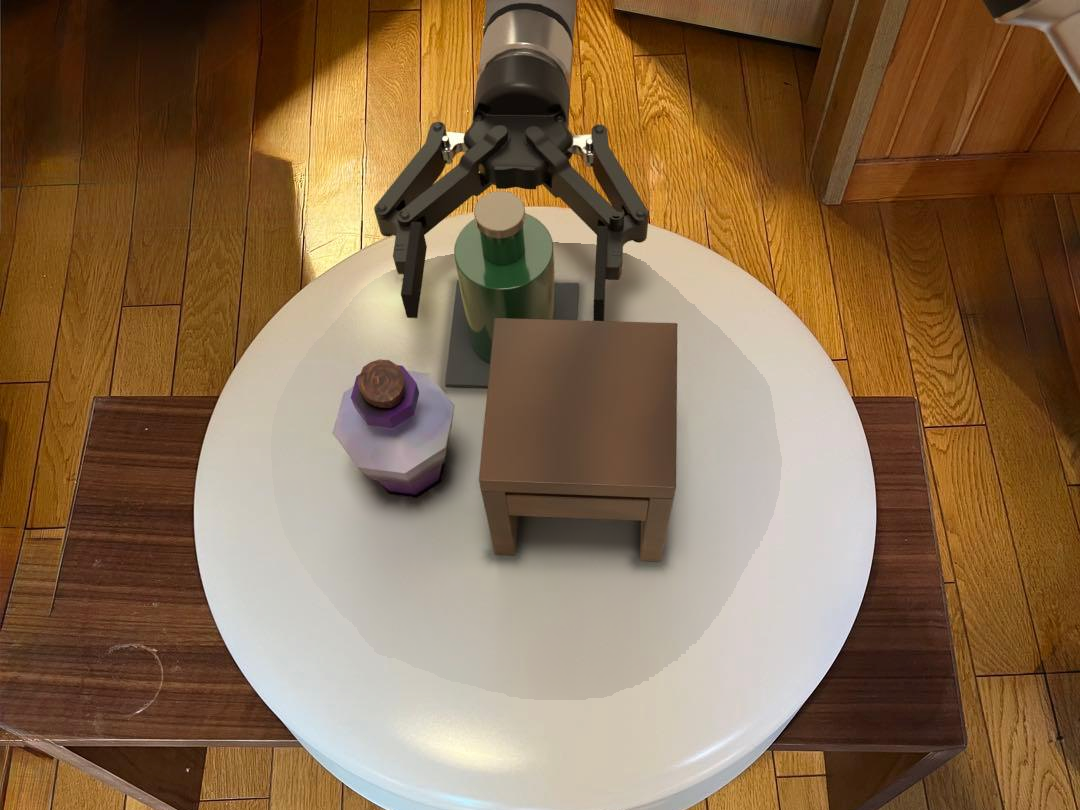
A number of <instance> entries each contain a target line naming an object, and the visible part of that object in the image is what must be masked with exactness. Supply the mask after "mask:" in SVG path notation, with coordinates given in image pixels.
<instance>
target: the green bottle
mask: <svg viewBox="0 0 1080 810" xmlns="http://www.w3.org/2000/svg"><path fill="white" fill-rule="evenodd" d="M473 215H474V218H473V219H472V220H471V221H469V222H468V223H466V225H465V226H464V227H463V228H462V229H461V230H460V231H459V234H458V236H457V238H456V241H455V242H454V248H453V255H454V260H455V261H454V263H455V267H456V272H457V273H456V274H457V280H459V284H460V290H461V295H462V301H463V306H464V312H465V317H466V323H467V328H468V334H469V339H470V343H471V346H472V348H473V350H474V351H475V353H476V354H477V355H478V356H479V357H480V358H481V359H482V360H483V361H485V362H486V363H488V364H490V359H491V348H492V338H493V328H494V319H495V318H512V319H548V320H556V302H555V283H556V281H555V276H556V275H555V255H554V253H555V251H554V241H553V237H552V235H551V233H550V231H549V230H548V228H547V227H546V226H545V225H544V224H543V223H542V222H541V221H540V220H539V219H538V218H536V217H534V216H533V215H531V214H529V213H526V207H525V204H524V202H523V201H522V199H521V198H520V197H519V196H518V195H517V194H514V192H513V193H512V192H510V191H505V190H495V191H492V192H489V193H486V194H484V195H483V196H482V197H481V198H480V199H478V201H477V202H476V204H475V206H474V209H473Z"/></svg>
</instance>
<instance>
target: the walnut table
mask: <svg viewBox="0 0 1080 810" xmlns="http://www.w3.org/2000/svg"><path fill="white" fill-rule="evenodd" d="M485 401H486V402H485V411H484V421H483V432H482V433H483V434H482V443H481V452H480V453H481V454H480V465H479V474H478V476H479V477H478V484H479V488H480V493H481V497H482V501H483V507H484V512H485V516H486V521H487V525H488V529H489V534H490V539H491V543H492V548H493V552H494V555H496V556H497V555H498V556H516V553H517V538H518V526H519V525H518V524H519V517H521V516H522V517H542V518H543V517H544V518H566V519H567V518H570V519H593V520H595V519H596V520H617V521H618V520H619V521H620V520H622V521H640V546H639V547H640V551H639V552H640V553H639V559H640V561H641V562H642V561H644V562H661V561H662V558H663V554H664V549H665V544H666V538H667V534H668V529H669V524H670V518H671V515H672V509H673V504H674V501H675V495H676V490H677V437H678V436H677V435H678V433H677V430H678V429H677V427H678V424H677V423H678V418H677V417H678V323H677V322H655V321H653V322H650V321H620V320H619V321H618V320H615V321H614V320H613V321H612V320H604V321H593V320H583V319H582V320H581V319H580V320H579V319H577V320H548V319H512V318H495V319H494V328H493V338H492V348H491V359H490V369H489V379H488V388H487V391H486V399H485Z"/></svg>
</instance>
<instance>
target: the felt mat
mask: <svg viewBox="0 0 1080 810" xmlns="http://www.w3.org/2000/svg"><path fill="white" fill-rule="evenodd" d="M579 290H580V283H579V282H555V302H556V320H578V307H579ZM453 303H454V304H453V313H452V321H451V329H450V339H449V346H448V355H447V363H446V372H445V380H444V381H445V382H444V385H445V387H447V388H473V389H474V388H476V389H477V388H478V389H488V379H489V369H490V364H488V363H486V362H485V361H483V360H482V359H481V358H480V357H479V356H478V355H477V354H476V353H475V351H474V350H473V348H472V346H471V343H470V339H469V334H468V328H467V323H466V317H465V312H464V306H463V301H462V295H461V290H460V284H459V279H457V280H456V287H455V294H454V302H453Z"/></svg>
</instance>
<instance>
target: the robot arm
mask: <svg viewBox="0 0 1080 810" xmlns="http://www.w3.org/2000/svg"><path fill="white" fill-rule="evenodd" d="M577 2H578V0H485V11H484V13H485V14H484V23H483V34H482V39H481V46H480V54H479V60H478V61H479V62H478V68H477V83H476V89H475V97H474V105H473V111H472V113H473V114H472V121H471V124H470V127H469V128H467V130H466V131H465V132H455V131H447V128H446V125H445V123H444V122H442V121H435V122H433V123H431V124H430V126H429V129H428V133H427V136H426V139H425V142H424V144H423V145H422V146H421V148H420V149H419V150H418V152H416V154H415V155H414V156H413V158H412V159H411V160H410V161H409V163H408V164H407V165H406V166H405V168H403V170H402V171H401V173H400V174H399V175H398V176H397V178H396V179H395V180H394V181H393V183H392V184H391V185H390V186H389V188H388V189H387V190H386V191H385V193H383V195H382V196H381V198H380V199H379V200H378V202H377V203H376V204H375V205H374V207H373V210H374V215H375V218H376V222H377V225H378V229H379V232H380V234H381V236H383V237H386V238H388V237H392V236H395V237H394V238H395V239H394V246H393V253H392V258H393V262H394V266H395V269H396V272H397V275H403V277H402V282H401V283H402V284H401V290H400V296H401V300H402V304H403V308H404V311H405V315H406V318H407V319H418V317H419V308H420V303H421V302H420V301H421V294H422V286H423V278H424V273H425V272H424V271H425V264H426V256H427V247H428V246H427V241H426V237H425V235H427V234H428V233H429V232H431V230H432V229H434V228H435V227H436V226H437V225H439V224H440V223H441V222H442V221H443V220H445V219H446V218H448V217H449V216H450V215H451V214H452V213H453V212H455V211H456V210H457V209H458V208H459V207H461V206H462V205H463V204H464V203H465V202H467V201H468V200H469V199H471V197H474V196H475V197H478V196H480V195H481V194H483V193H484V192H485V191H487V190H488V189H489V188H490V187H491V186H495V189H496V190H497V189H498V190H507V189H514V188H519V189H523V190H537V187H540V186H543V187H544V188H545V189H546V190H547V191H548V192H549V193H550V194H551V196H553V197H554V198H555V199H558V198H559V199H560V200H561V201H562V202H563V203H564V204H565V205H566V206H567V207H568V208H569V209H570V210H571V211H572V212H573V213H574V214H575V215H576V216H577V217H578V218H579V219H580V220H581V221H582V222H583V223H584V224H585V225H586V226H587V227H588V228H589V229H590V230H591V231H592V232H593V233H594V234H595V235H596V245H595V246H596V247H595V267H594V268H595V269H594V287H593V289H594V290H593V291H594V292H593V315H592V316H593V317H592V318H593V320H592V321H605V307H606V305H605V302H606V282H607V281H610V280H611V281H619V280H620V278H621V277H622V275H623V255H624V246H625V245H626V244H627V243H628V242H631V241H633V242H635V243H638V244H640V243H643V242H645V241H646V240H647V238H648V231H649V230H648V228H649V217H650V212H649V210H648V208H647V207H646V205H645V203H644V202H643V201H642V199H641V197H640V195H639V194H638V192H637V191H636V188H635V187H634V186H633V183H632V182H631V180H630V179H629V177H628V175H627V174H626V172H625V171H624V169H623V167H622V165H621V164H620V162H619V161H618V159H617V157H616V155H615V154H614V152H613V150H612V148H611V147H610V144H609V136H608V135H609V134H608V129H607V127H606V126H605V125H604V124H595V125H593V126H592V128H591V129H590V130H591V133H589V134H574V135H573V133H572V132H571V131H570V129H569V122H570V107H571V106H570V105H571V89H572V78H573V77H572V75H573V60H574V35H575V24H576V14H577ZM982 2H983V4H984V5H985V7H986V10H987V11H988V13H989V14H990V15H991V17H992V18H993V21H994V22H995V23H996V24H999V25H1007V26H1018V27H1025V28H1026V27H1027V28H1032V29H1033V28H1034V29H1036V30H1038V31H1040V32H1043V34H1044V35H1045V37H1046V39H1047V40H1048V42H1049V44H1050V45H1051V47H1052V49H1053V51H1054V52H1055V54H1056V55H1057V57H1058V59H1059V61H1060V63H1061V64H1062V66H1063V68H1064V69H1065V71H1066V73H1067V74H1068V77H1069V78H1070V80H1071V81H1072V83H1073V85H1074V87H1075V88H1076V90H1077V92H1078V93H1079V94H1080V0H982ZM459 153H463V154H462V156H461V157H460V160H459V161H458V164H456V165H455V166H454V167H453V168H452V169H450V170H449V171H447V172H446V173H445V175H442V173H443V172H444V169H445V167H446V166H447V165H452V164H453V161H454V160H453V159H455V157H456V156H457V155H458V154H459ZM573 155H577V156H579V157H580V158H581V160H582V162H584V163H585V166H586V167H587V168H592V172H593V175H594V177H595V179H596V181H597V183H598V184H599V186H600V188H601V190H602V191H603V193H604V195H605V196H606V198H605V197H604V196H603V195H601V194H600V193H599V192H598V190H596V189H595V188H594V187H593V186H592V185H591V184H590V183H589V182H588V181H587V180H586V179H585V178H584V177H583V176H582V175H581V174H580V173H579V172H578V171H577V170H576V169H575V168H574V167H573V166H572V165H571V163H570V160H571V158H572V157H573ZM441 175H442V176H441ZM440 176H441V177H440ZM439 177H440V178H439ZM607 200H608V201H609V202H608V201H607ZM606 280H607V281H606Z"/></svg>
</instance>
